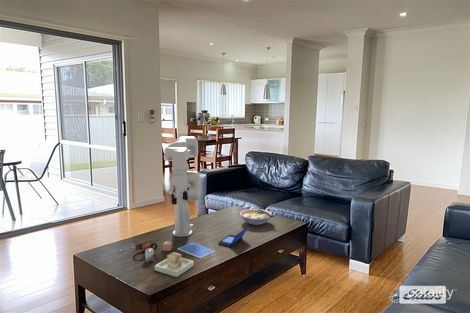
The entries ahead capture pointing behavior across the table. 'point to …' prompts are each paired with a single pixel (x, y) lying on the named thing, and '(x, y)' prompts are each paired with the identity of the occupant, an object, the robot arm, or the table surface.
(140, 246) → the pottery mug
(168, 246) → the terracotta cube
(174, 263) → the beech block
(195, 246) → the tablet computer
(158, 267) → the tray
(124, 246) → the table surface
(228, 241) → the handheld game console
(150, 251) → the grey canister
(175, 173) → the robot arm
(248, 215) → the ramen bowl
